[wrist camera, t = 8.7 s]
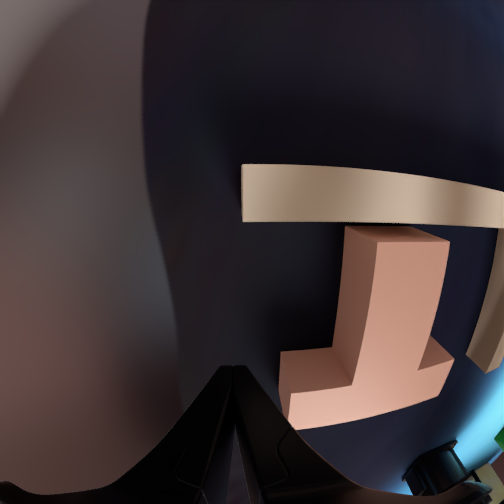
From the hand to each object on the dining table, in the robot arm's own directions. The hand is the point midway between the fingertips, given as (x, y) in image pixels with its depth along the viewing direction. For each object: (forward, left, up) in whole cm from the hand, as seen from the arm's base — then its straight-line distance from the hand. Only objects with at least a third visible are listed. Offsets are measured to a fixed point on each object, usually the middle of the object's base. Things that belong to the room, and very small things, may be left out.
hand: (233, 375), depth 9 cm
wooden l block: (-10, 0, -5) cm, 12 cm away
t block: (-7, +1, -5) cm, 9 cm away
